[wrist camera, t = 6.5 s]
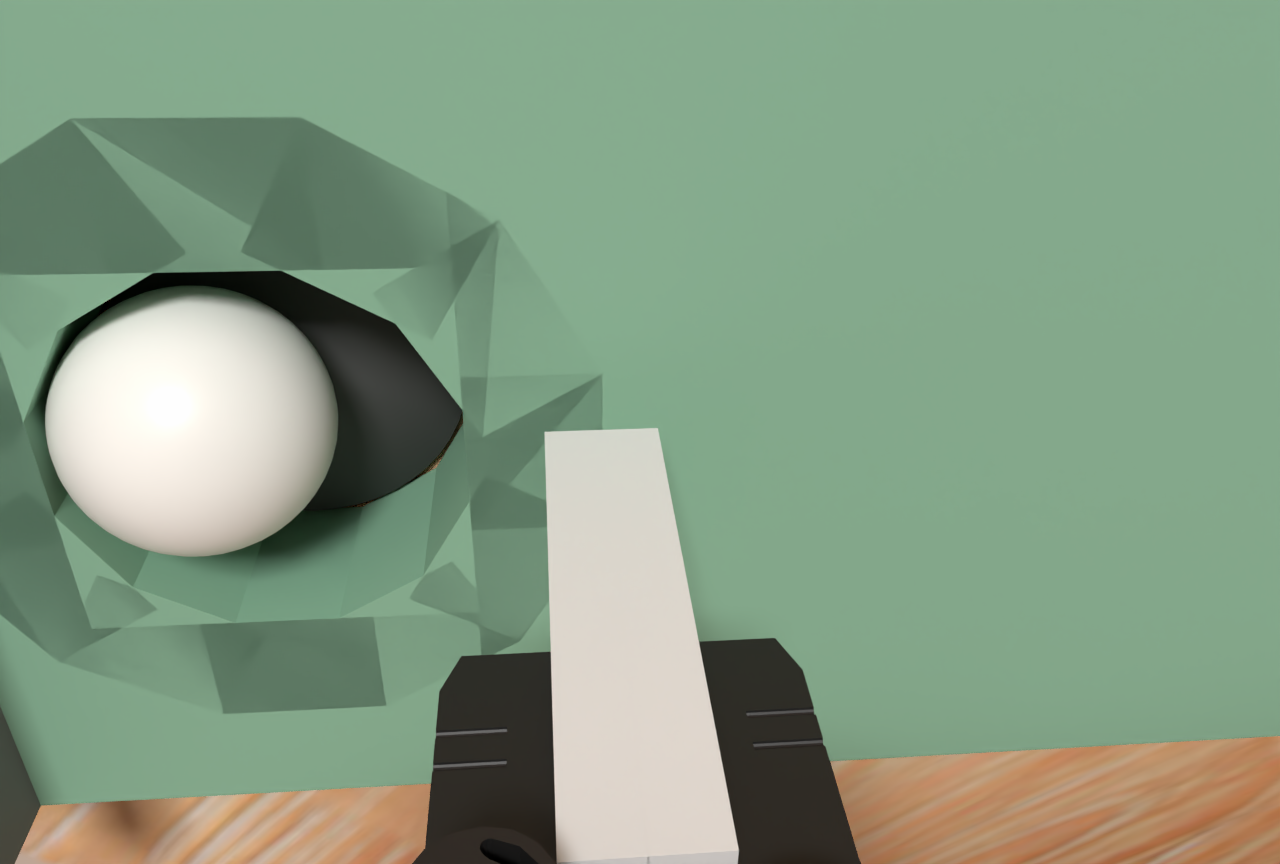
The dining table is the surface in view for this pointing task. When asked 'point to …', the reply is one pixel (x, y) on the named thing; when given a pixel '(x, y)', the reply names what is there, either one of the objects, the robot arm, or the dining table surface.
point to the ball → (191, 421)
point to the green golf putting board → (662, 361)
